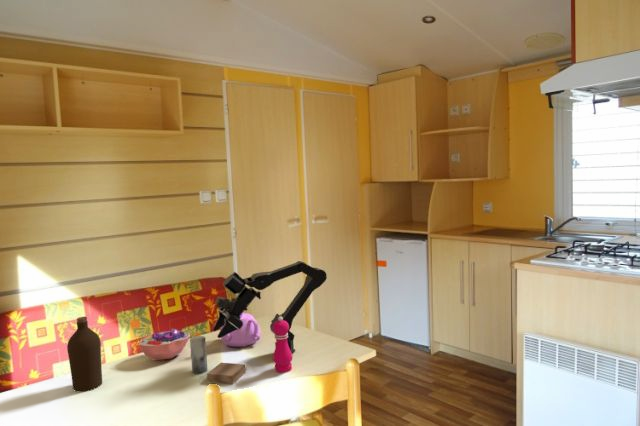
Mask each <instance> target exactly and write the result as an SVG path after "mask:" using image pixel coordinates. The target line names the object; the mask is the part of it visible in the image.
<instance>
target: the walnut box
mask: <svg viewBox="0 0 640 426" xmlns="http://www.w3.org/2000/svg"><path fill="white" fill-rule="evenodd" d="M245 373H246V364H245V363H244V364H243V363H234V362H233V363H230V362H220V363H218V364H217V365H216V366H215V367H213V368H212V369H211V370H210V371H208V372H206V379H207V380H206V381H207V382H208V383H216V384H227V385H228V384H229V385H234V384H235V383H236V382H237V381H238V380H239V379H240V378H241V377H242V376H244V374H245Z"/></svg>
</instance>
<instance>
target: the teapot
mask: <svg viewBox="0 0 640 426" xmlns="http://www.w3.org/2000/svg"><path fill="white" fill-rule="evenodd" d="M240 317H241V318H240V319H241V320H242V322H243V326H242V327H241V328H240V329H239V328H238V330H235V331H233V332H231V333H229V334H227V335H225V336H223V337H221V338H220V339H221V341H222V342H223V343H224V344H225V345H226V346H228V347H235V348H236V347H238V348H239V347H240V348H241V347H245V346H246V347H247V346H250V345H253V344H255V343H256V342H257V341H259V340H260V339H261V335H262V333H261V332H262V331H261V327H260V326H259V323H258V321H257V320H256V319H255V317H254V316H253V315H252V314H250V313H248V312H246V313H245V311H244V312H243V313H242V314H241V315H240ZM222 328H223V326H222V327H221V328H219V329H220V330H219V332H220V331H221V329H222Z"/></svg>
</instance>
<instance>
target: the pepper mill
mask: <svg viewBox="0 0 640 426" xmlns="http://www.w3.org/2000/svg"><path fill="white" fill-rule="evenodd" d="M278 320H279V321H276V322H275V323H274V325H273V331H274V332H275V334H274V339H275V342H276V348H274V352H273V355H272V361H273V363H274V371H275V372H277V373H279V374H280V373H288V372H291V371H292V368H293V366H292V363H291V362H292V361H293V354H292V353H291V350H290V348H289V346H288V343H287V338H288V333H287V332H288V330H289V324H288V323H287V322H286V321H284V320H283V318H282V317H281V316H280V317H278ZM289 331H290V330H289Z"/></svg>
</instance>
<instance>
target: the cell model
mask: <svg viewBox="0 0 640 426" xmlns="http://www.w3.org/2000/svg"><path fill="white" fill-rule="evenodd" d="M190 337H191V334H190V333H189V332H187V331H183V330H178V329H176V328H171V330H169V331H167V330H165V331H161V332H158V331H157V332H154V333H152V334H151V335H148V336H145V337H143V338H142V339H140V341H139V342H138V345H139V347H140V349H141V351H142V353H143V354H144V355H145V356H147V357H148V358H150V359H151V360H154V361H161V360H170V359H173V358H174V357H176V356H178V355H180V354H181V353H182V352H183V350H184V349H185V347H186V346H187V344H188V342H189V340H190Z"/></svg>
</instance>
